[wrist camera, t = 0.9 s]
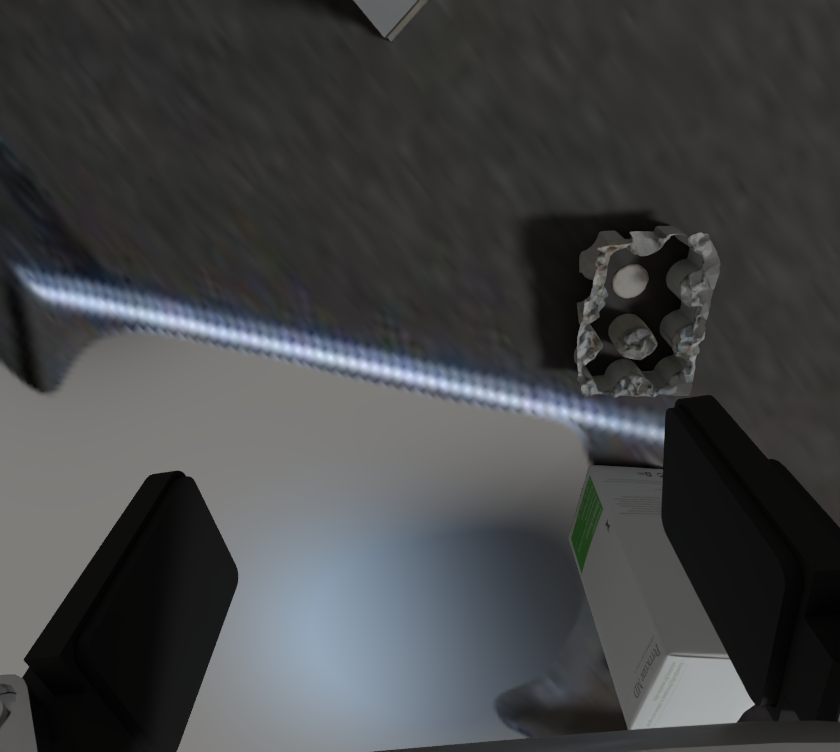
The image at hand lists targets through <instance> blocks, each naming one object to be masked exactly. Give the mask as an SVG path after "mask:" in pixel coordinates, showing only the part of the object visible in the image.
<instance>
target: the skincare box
mask: <svg viewBox="0 0 840 752" xmlns="http://www.w3.org/2000/svg"><path fill="white" fill-rule="evenodd" d="M662 484H663V469H651V468H636V467H619V466H601V465H591V466H589V468H588V472H587V475H586V480H585V483H584V485H583V488H582V491H581V495H580V499H579V502H578V506H577V509H576V513H575V517H574V520H573V523H572V526H571V529H570V533H569V541H570V544H571V547H572V550H573V554H574V557H575V560H576V563H577V566H578V570H579V573H580V576H581V579H582V583H583V586H584V589H585V592H586V596H587V599H588V602H589V605H590V608H591V612H592V615H593V618H594V622H595V625H596V628H597V631H598V634H599V638H600V641H601V644H602V647H603V650H604V654H605V657H606V660H607V663H608V667H609V670H610V673H611V676H612V679H613V683H614V686H615V689H616V692H617V696H618V699H619V702H620V705H621V709H622V712H623V715H624V718H625V721H626V725H627V728H628V730H635V729H647V728H662V727H678V726H693V725H709V724H724V723H736V722H737V721H738V719H739V718H740V717H741V715H742V714H743V713H744V711H746V710H748V709H749V708H751V707H752V706H753V705H755V704H754V702H753V701H752V700H751V698H750V697H749V695H748V693H747V691H746V689H745V687H744V685H743V683H742V681H741V680H740V678H739V676H738V674H737V672H736V670H735V668H734V666H733V664H732V662H731V660H730V658H729V656H728V654H727V652H726V650H725V648H724V646H723V644H722V643H721V641H720V639H719V637H718V635H717V633H716V631H715V629H714V627H713V625H712V623H711V621H710V619H709V617H708V615H707V613H706V611H705V609H704V607H703V606H702V604H701V602H700V600H699V598H698V596H697V594H696V592H695V590H694V588H693V586H692V584H691V582H690V580H689V578H688V576H687V574H686V572H685V570H684V569H683V567H682V565H681V563H680V561H679V559H678V557H677V555H676V553H675V551H674V549H673V547H672V545H671V543H670V541H669V539H668V537H667V535H666V533H665V531H664V528H663V524H662V518H661V506H662Z"/></svg>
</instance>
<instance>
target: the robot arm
mask: <svg viewBox="0 0 840 752" xmlns="http://www.w3.org/2000/svg"><path fill="white" fill-rule="evenodd" d="M661 518H662V524H663V528H664V531H665V533H666V535H667V537H668V539H669V541H670V543H671V545H672V547H673V549H674V551H675V553H676V555H677V557H678V559H679V561H680V563H681V565H682V567H683V569H684V570H685V572H686V574H687V576H688V578H689V580H690V582H691V584H692V586H693V588H694V590H695V592H696V594H697V596H698V598H699V600H700V602H701V604H702V606H703V607H704V609H705V611H706V613H707V615H708V617H709V619H710V621H711V623H712V625H713V627H714V629H715V631H716V633H717V635H718V637H719V639H720V641H721V643H722V644H723V646H724V648H725V650H726V652H727V654H728V656H729V658H730V660H731V662H732V664H733V666H734V668H735V670H736V672H737V674H738V676H739V678H740V680H741V681H742V683H743V685H744V687H745V689H746V691H747V693H748V695H749V697H750V698H751V700H752V701H753V702H754V704H756V705H757V706H761V705H765V706H766V708H767V710H768V712H769V713H770V715H771V717H772V719H773V721H755V722H740V723H724V724H709V725H693V726H678V727H662V728H647V729H635V730H622V731H610V732H598V733H586V734H574V735H562V736H550V737H538V738H525V739H514V740H501V741H489V742H479V743H466V744H454V745H443V746H432V747H420V748H409V749H397V750H386V751H375V752H840V528H839V526H838V525H837V524H836V523H835V522H834V521H833V520H832V519H831V518H830V516H829V515H828V514H827V513H826V512H825V511H824V510H823V509H822V508H821V506H820V505H819V504H818V503H817V502H816V501H815V500H814V499H813V497H812V496H811V495H810V494H809V493H808V492H807V491H806V490H805V489H804V487H803V486H802V485H801V484H800V483H799V482H798V481H797V480H796V479H795V477H794V476H793V475H792V474H791V473H790V472H789V471H788V470H787V469H786V467H785V466H783V465H782V464H781V463H780V462H779V461H776V460H774V459H767V458H766V456H765V455H764V454H763V453H762V452H761V451H760V449H759V448H758V447H757V446H756V445H755V444H754V443H753V441H752V440H751V439H750V438H749V437H748V436H747V435H746V433H745V432H744V431H743V430H742V429H741V428H740V427H739V425H738V424H737V423H736V422H735V421H734V420H733V419H732V417H731V416H730V415H729V414H728V413H727V412H726V410H725V409H724V408H723V407H722V406H721V405H720V404H719V402H718V401H717V400H716V399H715V398H714V397H713V396H711V395H705V396H698V397H691V398H684V399H678V400H677V401H676V403H675V408H669V409H667V411H666V416H665V439H664V461H663V484H662V506H661ZM237 583H238V571H237V567H236V565H235V563H234V561H233V558H232V557H231V554H230V552H229V550H228V548H227V546H226V544H225V542H224V540H223V538H222V536H221V534H220V532H219V530H218V528H217V526H216V524H215V522H214V520H213V518H212V515H211V513H210V511H209V509H208V507H207V505H206V503H205V501H204V499H203V497H202V495H201V493H200V491H199V489H198V487H197V485H196V483H195V481H194V479H193V478H191V477H186V476H185V474H184V473H183V472H181V471H172V472H165V473H158V474H152V475H150V476H149V477H148V478H147V479H146V480H145V481H144V483H143V484H142V486H141V487H140V489H139V490H138V492H137V493H136V495H135V496H134V497H133V499H132V500H131V502H130V503H129V505H128V506H127V508H126V509H125V511H124V512H123V514H122V515H121V517H120V518H119V520H118V521H117V523H116V524H115V525H114V527H113V528H112V530H111V531H110V533H109V534H108V536H107V537H106V539H105V540H104V542H103V543H102V545H101V546H100V548H99V549H98V551H97V552H96V554H95V555H94V557H93V558H92V560H91V561H90V562H89V564H88V565H87V567H86V568H85V570H84V571H83V573H82V574H81V576H80V577H79V579H78V580H77V582H76V583H75V585H74V586H73V588H72V589H71V590H70V592H69V593H68V595H67V596H66V598H65V599H64V601H63V602H62V604H61V605H60V607H59V608H58V610H57V611H56V613H55V614H54V616H53V617H52V619H51V620H50V621H49V623H48V624H47V626H46V627H45V629H44V630H43V632H42V633H41V635H40V636H39V638H38V639H37V641H36V642H35V643H34V645H33V646H32V648H31V649H30V651H29V653H28V654H27V655H26V657H25V658H24V661H25V662H26V663H27V664H28V666H29V668H28V670H27V672H26V673H25V675H24V676H23V677H22V678H20V677H19V676H17V675H0V752H176V751H177V749H178V747H179V744H180V741H181V739H182V736H183V733H184V730H185V727H186V725H187V722H188V719H189V717H190V714H191V711H192V708H193V705H194V703H195V700H196V697H197V695H198V692H199V689H200V686H201V684H202V681H203V678H204V675H205V673H206V670H207V667H208V664H209V661H210V659H211V656H212V653H213V651H214V648H215V645H216V642H217V639H218V637H219V634H220V631H221V628H222V626H223V623H224V620H225V617H226V615H227V612H228V609H229V606H230V604H231V601H232V598H233V595H234V593H235V590H236V587H237Z"/></svg>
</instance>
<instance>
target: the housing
mask: <svg viewBox="0 0 840 752" xmlns="http://www.w3.org/2000/svg"><path fill="white" fill-rule="evenodd" d="M429 1H430V0H354V2H355V3H356V4H357V5H358V6H359V8H360V9H361V10H362V11H363V12H364V14H365V15H366V16H367V17H368V19H369V20H370V21H371V22H372V23H373V25H374V26H375V27H376V28H377V30H378V31H379V32H380V33H381V34H382V36H383V37H384V38H387V37H388V39H389V40H390V41H391V42H393V41H394V40H395V39H396V38H397V37H398V36H399V34H400V33H401V32H402V31H403V30H404V29H405V28H406V27H407V25H408V24H409V23H410V22H411V21H412V20H413V19H414V18H415V17H416V15H417V14H418V13H419V12H420V11H421V10H422V9H423V8H424V6H425V5H426V4H427V3H428V2H429Z"/></svg>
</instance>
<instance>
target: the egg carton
mask: <svg viewBox="0 0 840 752" xmlns="http://www.w3.org/2000/svg"><path fill="white" fill-rule="evenodd" d="M630 235H631V238H630V239H624V238H623V237H622V236H620V235H619V233H617V232H616V231H601V232H599V234H598V237H597V239H596V241H595V243H594V244H593V245H592V246H591V247H590V248H589V249H587V250H585V251H582V252H581V254H580V257H579V273H580V272H581V273H582V274H583V275H584V276H585V277H586V278H588V279H590V280H593V287H592V291H591V294H590V296H589V297H588V298H587V299H586V300H584V301H582V302H578V303H577V310H578V322H579V324H580V329H579V333H578V337H577V348H576V349H575V352H574V361H575V363H576V364H577V368H578V377H577V380H578V382H579V384H580V386H581V390H582V395H583V396H585V397H591V396H592V395H593V394H605V395H608V396H610V397H618V396H621V395H627V396H633V397H636V396H649V397H655V396H656V395H658V394H665V395H672V396H689V395H690V393H691V389H692V383H693V377H694V372H695V359H696V355H697V354H699V344H700V342H701V341H702V340H703V339H704V337H705V327H706V320H707V317H708V314H709V310H710V302H711V297H712V294H713V291H714V288H715V285H716V282H717V279H718V276H719V273H720V260H719V256H718V254H717V252H716V250H715V247H714V245H713V243H712V241H711V239H710V237H709V235H708V234H706V233H697V234H694V235H692V236H691V237H689V236H687V235H686V234H684V233H682V232H681V231H680V230H678V229H676V228H675V227H673V226H657V227H655V229H654V232H653V231H652V232H649V231H632V232H630ZM672 235H675V237H676V238H677V239H678V240H680V241H681V242H683V243H684V244H686V245H688V246H689V254H688V257H687V258H686V259H682V260H680V261H678V262H676V263H675V264H674V265H673V266H672V267H671V268H670V269H669V271H668V273H667V276H666V283H667V287H668V288H669V289H670V290H671V291H672V292H673V293H674V294H675V295H676V296H677V297H678V298H679V299H680V300H681V307H680V309H678V310H675V311H672V312H671V313H669V314H668V315H666V316H665V317H664V318H663V320H662V322H661V324H660V334H661V336H662V337H663V338H664V339H665V340H666V342H667V343H668V344H669V345H670V346H671V347H672V350H673V352H674V354H673V355H671V356H667V357H665V358H663V359H662V360H660V361H659V362H658V363H657V365H656V366H655V368H654V370H653V371H641V370H640V369H639V368H638V366H637V365H636V364H635V363H634V362H633V361H631V360H629V359H635V360H642V359H643V358H645V357H646V356H648V355H650V354H651V353H652V352H653V351H654V350H655V348H656V347H657V341H656V339H655V337H654V335H653V333H652V332H651V330H650V329H649V328H648V327H647V325H646V324H645V323H644V322H643V321H642V320H641V319H640V318H639V317H638V316H637V315H635V314H623V315H620V316H618V317H617V318H615V319H614V320H613V322H612V323H611V324H610V326H609V329H608V334H609V338H610V339H611V341H612V343H613V344H614V346H615V347H616V349H617V351H618V352H619V353H620V354H621V355H622V356H623V357H625V358H629V359H619V360H616V361H614V362H613V363H611V364H610V365H609V366H608V368H607V369H606V372H605V374H604V375H598V376H591V374H590V372H589V370H588V369H587V368H586V365H587V363H588V362H589V361H591V360H593V359H595V357H596V355H597V353H598V352H599V351H600V350H601V349H602V348H603V343H602V342H601V341H600V339H599V337H598V336H597V334H596V332H595V331H594V329H593V328H592V326H591V325H590V323H592V322H593V321H595V320H596V319H598V318H599V317H600V316H599V311H600V310H601V309H602V308H603V307H604V305H605V298H606V297H608V292H607V290H606V289H605V287H604V283H605V281H606V276H607V268H608V262H609V259H610V257H611V255H612V253H614V252H615V251H617V250H619V249H623V248H627V249H628V250H629V251H631V252H632V253H633V254H635V255H639V256H648V255H651V254H652V253H654V252H656V251H658V250H660V248H661V247H662V246H663V245H664V244H665V242H666V241H667V240H668V239H669V238H670V236H672ZM648 280H649V276H648V273H647V271H646V270H645V269H644V268H643V267H642V266H641V265H638V264H629V265H626V266H625V267H622V268H621V269H619V270H618V271H617V273H616V274H615V275H614V278H613V281H612V284H613V286H612V287H613V290H614V292H615V293H616V294H617V295H618V296H620V297H623V298H632V297H635V296H637V295H639V294H640V293H641V292H642V291H643V290H644V289H645V287H646V285H647V283H648Z"/></svg>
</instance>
